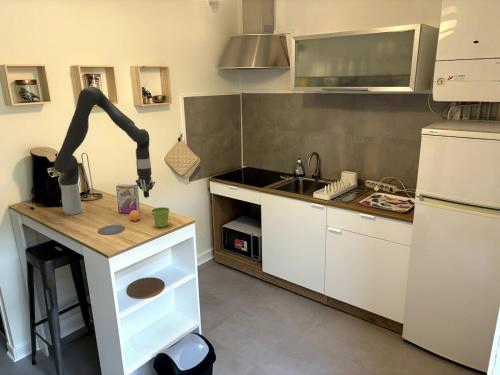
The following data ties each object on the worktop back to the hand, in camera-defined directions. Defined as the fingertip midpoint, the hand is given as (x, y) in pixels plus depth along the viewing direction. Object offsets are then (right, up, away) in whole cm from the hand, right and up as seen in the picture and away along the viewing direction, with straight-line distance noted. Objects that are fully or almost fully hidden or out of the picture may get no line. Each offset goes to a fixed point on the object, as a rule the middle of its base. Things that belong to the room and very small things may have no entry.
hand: (146, 197), depth 209 cm
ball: (-5, -10, -6) cm, 12 cm away
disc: (-13, -16, -18) cm, 28 cm away
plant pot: (+11, -15, -13) cm, 22 cm away
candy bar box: (-12, -9, +8) cm, 17 cm away
